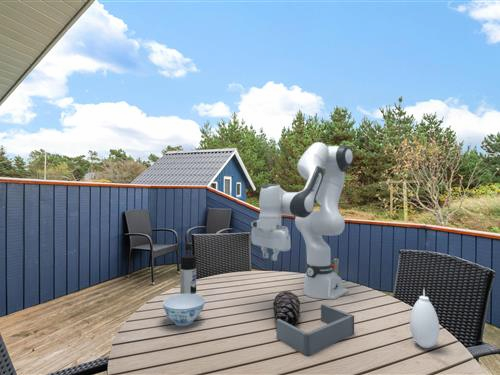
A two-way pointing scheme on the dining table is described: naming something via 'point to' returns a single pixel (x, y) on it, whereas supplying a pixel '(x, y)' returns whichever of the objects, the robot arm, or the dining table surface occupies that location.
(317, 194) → the robot arm
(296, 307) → the pine cone
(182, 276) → the spray can
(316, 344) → the box
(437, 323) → the sauce bottle
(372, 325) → the dining table surface
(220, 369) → the dining table surface
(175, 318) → the chinaware
